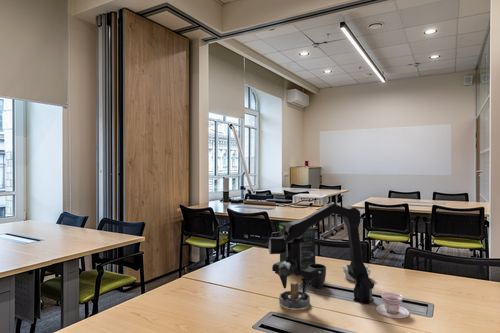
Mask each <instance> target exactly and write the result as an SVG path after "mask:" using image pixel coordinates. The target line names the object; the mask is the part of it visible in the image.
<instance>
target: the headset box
mask: <svg viewBox="0 0 500 333" xmlns="http://www.w3.org/2000/svg"><path fill="white" fill-rule="evenodd" d="M290 222H291V221H290ZM290 222H279V223H278V225H279V226H278V228H279V232H278V233H279V234H278V235H279V237H281V236H282V234H283V233H284V232H285V230H286V226H287V224H288V223H290ZM301 237H302V238H303V239H304V240H305V241H306V243H301V255H303V258H301V265H303V268H301V269H303V270H305V269H307V268H308V265H310V264H317V263H316V229H315V227H314V226H311V227H310V228H308V229H307V231H306V232H305V233H304V234H303V235H301ZM285 256H287V243H286V251H285V252H284V254H279V262H284V261H285ZM294 275H295V276H299V275H300V276H302V274H298V273H295V274H294Z"/></svg>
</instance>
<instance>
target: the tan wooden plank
mask: <svg viewBox="0 0 500 333" xmlns="http://www.w3.org/2000/svg"><path fill="white" fill-rule="evenodd" d="M290 291H291V298H294V299H295V298H297V297H299V293H298V291H299V282H298V281H293V282H290Z"/></svg>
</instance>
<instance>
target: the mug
mask: <svg viewBox="0 0 500 333" xmlns="http://www.w3.org/2000/svg"><path fill="white" fill-rule="evenodd" d="M308 268H311V269H316V271H317V277H315V278H313V279H311V281H310V283H309V284H310V286H311V288H314V289H322V288H323V287H324V285H325V282H326V276H327V266H326V265H325V264H322V263H316V264H310V265H308Z"/></svg>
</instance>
